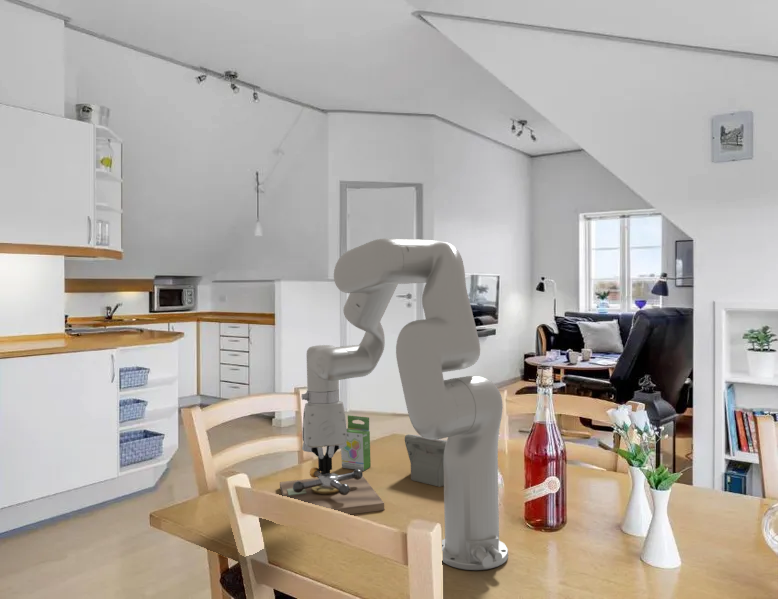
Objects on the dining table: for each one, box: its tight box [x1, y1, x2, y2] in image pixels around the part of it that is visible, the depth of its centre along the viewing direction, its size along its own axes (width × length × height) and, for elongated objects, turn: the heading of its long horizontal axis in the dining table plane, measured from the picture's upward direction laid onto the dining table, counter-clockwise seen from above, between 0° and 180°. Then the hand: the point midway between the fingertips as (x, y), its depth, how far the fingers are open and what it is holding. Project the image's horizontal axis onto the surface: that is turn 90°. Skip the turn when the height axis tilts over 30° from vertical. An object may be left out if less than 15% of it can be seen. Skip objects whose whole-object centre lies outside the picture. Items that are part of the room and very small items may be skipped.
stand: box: [279, 475, 385, 515], centre depth 137 cm, size 22×20×2 cm
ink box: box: [340, 414, 372, 472], centre depth 161 cm, size 7×4×13 cm, turn 61°
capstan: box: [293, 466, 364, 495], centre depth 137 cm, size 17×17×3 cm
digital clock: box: [404, 434, 447, 488], centre depth 149 cm, size 16×9×11 cm, turn 38°
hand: (325, 473), depth 145 cm, fingers closed
